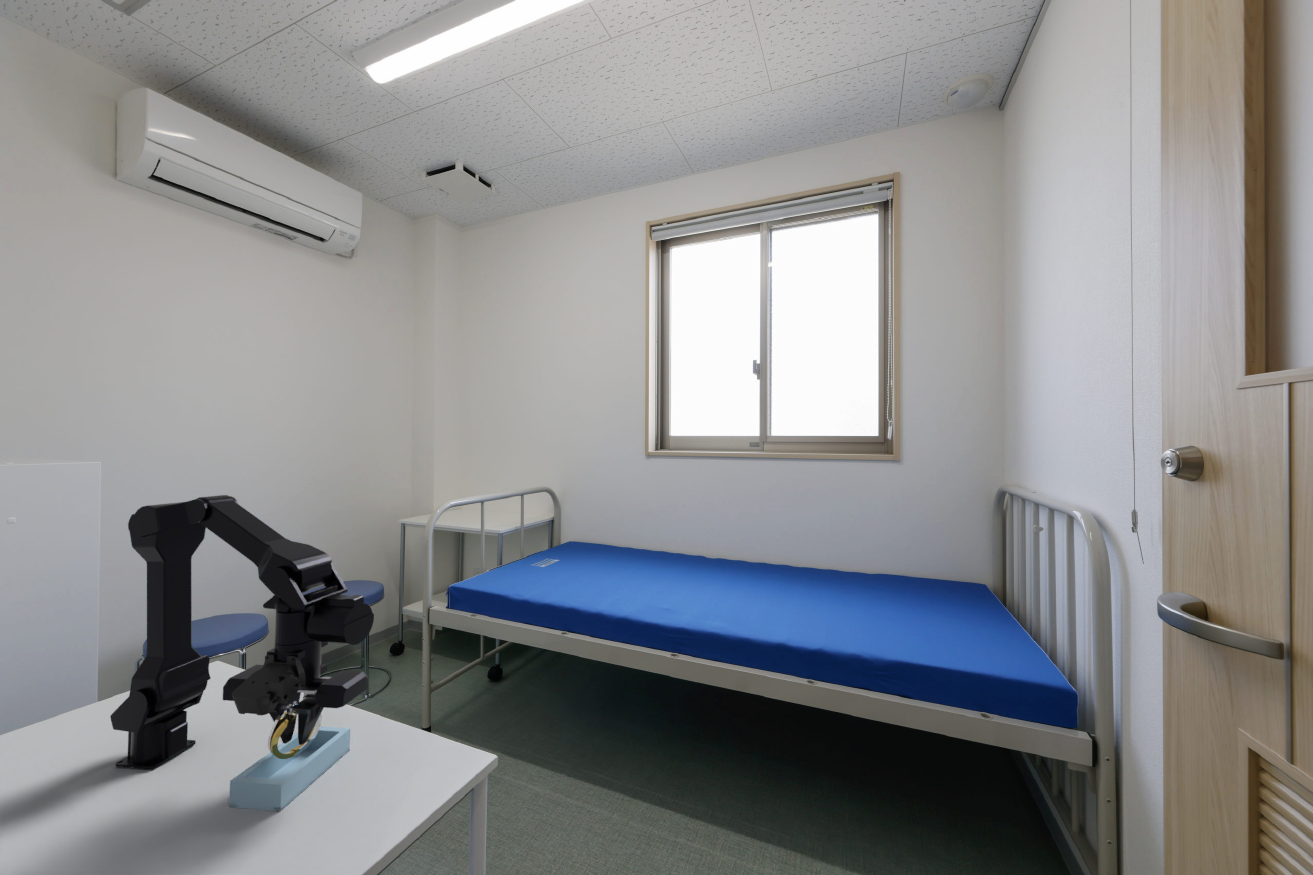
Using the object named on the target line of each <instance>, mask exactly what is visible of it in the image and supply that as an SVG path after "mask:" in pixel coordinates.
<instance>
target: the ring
mask: <svg viewBox="0 0 1313 875" xmlns="http://www.w3.org/2000/svg"><path fill="white" fill-rule="evenodd" d="M296 704H298V703H296V700H295V701H294V702H293V704H292V703H290V704H289V705H288V706H287V707H286V708H284V710H283V711H282V712H281V713H280V714H279V716H278V717H277V718H276V720H275V722H274V721H273V724H272V726H271V728H270V732H269V735H268V740H267V747H268V751H269V753H270V752H271V753H272V754H273V755H274V756H275V757H277V758H279V759H288V758H291V757H297V756H298V755H299V754H300V753H301V752H302V751H303V750H305V749H306V748H307V747H308V746H309V745H310V744H311V742H312V741H313V740H314V738H315V737H316V735H317V733H318V731H319V728H320V726H321V724H322V720H323V719H322V717H323V716H322V713H321V714H320V716H319V718H318V720H317V722H316V724H315V726H314V728H313V730H312V732H311V734H310V736H309V738H308V740H307V741H306V742H305V743H304V744H302V745H300V746H299V747H294V748H292V749H291V750H290V752H286V753H280V752H279V750H278V745H279V740H280V739H281V737H280V736H281V734H282V732H283V731H284V730H285V728H286V727H287V726H288V725H289V724H290V722H291V721H292V720H293V719H294V718H295V717H296V716H297V717H298V713H297V712H296V711H294V710H293V709H292V708H291V707H293V706H294V705H296ZM288 715H291V716H289V717H288V718H287V719H286V720H285V721H284V722H283V723H282V724H281V725H280V723H281V722H282V720H283V718H284V717H287V716H288ZM297 717H296V718H297ZM279 725H280V726H279Z"/></svg>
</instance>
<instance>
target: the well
mask: <svg viewBox="0 0 1313 875" xmlns="http://www.w3.org/2000/svg"><path fill="white" fill-rule="evenodd" d="M278 745H279V744H278ZM299 746H300V745H299V741H298V731H297V732H296V733H293V736H292V739H291V741H289V742H288V743H286V744H285V743H283V742H282V743H280V745H279V746H278V750H279V752H280V753H286V752H290V750H291V749H292V748H294V747H299ZM350 750H351V728H349V727H335V726H333V727H332V726H321V725H320V728H319V731H318V733H317V735H316V737H315V738H314V740H313V741H312V742H311V744H310V745H309V746H308V747H307V748H306V749H305V750H303V751H302V752H301V753H300V754H299V755H298V756H297V757H291V758H288V759H279V758H277V757H275V756H274V755H273V754H272V753H271V752H270V751H269V752H267V754H265V755H264V756H263V757H261V758H260V759H258V760H257V761H256V762H254V763H253V764H252V765H250V766H249V767H247V768H246V769H245V770H242V772H241V773H239V774H238V775H237V776H234V777H233V778H232V779H231V780H230V781H229V797H228V798H229V802H228V804H229V805H228V807H229V808H239V809H250V810H263V811H271V812H273V811H276V812H281V811H283V810H284V809H285V808H286V807H287V806H288V805H289V804H290V803H291V802H293V801H294V800H295V799H296V798H297V797H299V796H300V795H301V794H302V793H303V792H304V791H306V789H307V788H309V787H310V786H311V785H312V784H313V783H315V781H317V780H318V779H319V778H320V777H322V775H323V774H325V773H326V772H327V771H328V770H329V769H330V768H332V767H333V766H334V764H336V763H337V762H338V761H339V760H340V759H342V758H343V757H344V756H345V755H346V754H347V753H349V752H350Z"/></svg>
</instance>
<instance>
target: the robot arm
mask: <svg viewBox="0 0 1313 875" xmlns="http://www.w3.org/2000/svg"><path fill="white" fill-rule="evenodd" d="M127 527H128V528H127V529H128V532H129V536H130V544H131V547H132V549H133V550H135V552H136V553H137V554H138V555H139V556H140V557H141V558H142V560H144V561H145V562H146V656H145V658H144V659H143V661H142V662H141V663H140V665H139V666H138V668H137V670H136V671H135V672H134V674H133V675H132V677H131V681H130V682H131V683H130V689H129V695H128V697H127V698H126V699H125V700H124V701H123V702H122V703H121V704H120V705H119V706H118V707H117V708H116V709H115V710H114V711H113V712H112V713H111V714H110V717H109V718H110V720H111V726H112V729H113V730H115V731H121V732H128V733H127V734H128V738H127V756H125V757H124V758H122V759H120V760H118V761H116V762H115V767H117V768H125V769H126V768H127V769H137V770H138V769H139V770H155V769H157V768H158V767H159V766H161V765H162V764H165V763H167V762H168V761H170V760H172V759H173V758H174V757H176V756H178V755H179V754H181V753H183V752H185V751H187V750H188V749H189V748H191V747H193V746H194V745H196V739H195V740H194V739H188V729H189V728H188V727H189V722H188V721H187V719H188V718H187V716H188V715H187V714H188V712H187V709H189V708H191V707H193V706H196V705H198V704H200V703H201V700H202V696H203V694H204V692H205V690H206V688H207V686H208V681H209V680H211V676H210V670H209V668H210V661H211V660H210V657H209V655H201V654H200V652H198V651H197V649H195V648H194V647H193V644H192V642H193V641H192V640H193V637H192V636H193V635H192V632H193V631H192V630H193V629H192V624H193V623H192V622H193V621H192V620H193V619H192V617H193V616H192V608H193V607H192V606H193V605H192V604H193V603H192V602H193V601H192V558H193V555H194V554H195V552H197V549H198V548H199V547H200V545H202V543H203V541H204V540H205V536H206V530H209V531H210V532H212V533H213V534H214V535H216V536H217V537H218V538H220V540H222V541H224V542H225V543H226V544H228V545H229V546H230V547H232V548H233V549H235V551H237V552H238V553H239V554H241V555H243V556H244V557H245V558H246V559H248V560H249V561H250V562H252V563H253V564H254V565H255V566H256V567H257V575H258V579H259V581H261V583H262V584H263V585H264V586H265V587H266V588H267V589H268V590H269V591H270V593H271V594H273V595H272V597H270V598H269V599H268V600H266V601H265V602H264V603H263V605H262V607H263V608H264V609H267V610H269V609H270V610H275V622H274V625H275V626H274V647H273V648H272V649H269V650H267V651H266V655H265V656H264V663H263V664H255V665H252V666H251V667H249V668H247V669H245V670H243V671H241V672H239V673H237V674H235V675H233V676H231V677H229V678H228V679H227V681H226V682H225V683H224V685H223V688H222V701H230V702H234V705H235V707H236V710H237V712H238V714H240V715H245V714H250V715H251V714H253V715H257V716H266V715H268V714H269V716H270V717H271V719H272V721H273V723H274V722H275V720H276V718H277V717H278V716H279V714H280V713H281V712H282V711H283V710H284V708H286V707H287V706H288V705H289V704H290V703H292V704H293V702H294V701H295V700H296V703H298V704H296V705H294V706H293V707H291V708H292V709H293V710H294V711H296V712H297V713H298V715H297V716H296V717H295V718H294V719H293V720H292V721H291V722H290V724H289V725H288V726H287V727H286V728H285V730H284V731H283V732H282V734H281V736H280V739H281V741H282V743H285V744H286V743H288V742H289V741H291V739H292V736H293V735H294V732H295V728H296V722H297V732H298V741H299V745H302V744H304V743H305V742H306V741H307V740H308V738H309V736H310V734H311V732H312V730H313V728H314V726H315V724H316V722H317V720H318V718H319V716H320V714H321V715H322V712H323V710H324V708H328V709H339V708H343V707H344V706H345V707H346V705H347V704H349V703H350V702H352V701H353V700H354V699H356V697H358V696H359V695H362V693H364V692H365V691H366V690H367V689H368V686H369V685H368V683H369V682H368V680H369V679H368V678H369V677H368V674H367V673H365V671H359V670H358V671H357V670H347V669H346V670H341V671H339V672H338V673H335V675H333V676H323V677H322V676H321V675H323V674H324V673H326V672H327V671H328V663H327V664H326V663H322V648H324V647H326V646H328V645H329V644H330V643H331V644H340V645H349V646H357V645H359V644H361V642H363V641H364V640H365V639H366V638H367V637H368V636H369V634H370V632H371V630H372V627H373V626H374V620H375V614H374V613H373V609H372V607H371V606H370V605H369V604H368V603H365V597H364V595H362V594H361V595H360V594H355V595H349V594H346V593H348V588H347V585H346V584H345V582H344V580H343V578H341V576H340V574H339V573H338V571H337V570H336V567H335V565H333V563H332V562H333V560H332V558H331V556H330V555H329V554H328V553H327V552H325V551H324V550H321V549H319V548H317V547H314V546H313V545H310V544H307V543H302V542H299V541H294V540H290V539H288V538H286V537H284V536H283V535H282V534H281V533H279V532H277V531H276V530H275V529H273V528H272V527H271V526H269V525H268V524H266V523H265V522H264V521H262V520H261V519H260V518H258V517H257V516H255V515H254V514H252V513H251V512H250V511H248V510H247V509H245V508H244V507H243V506H241V505H240V504H239V502H238V500H237V499H236V497H234V496H232V495H231V496H230V495H227V494H223V495H222V494H219V495H210V496H199V497H197V498H195V499H192V500H188V501H182V502H181V501H179V502H170V503H161V504H160V503H159V504H152V505H151V504H149V505H144V506H141V507H139V508H137V510H136V512H134V513H133V514H131V516H130V517H129V520H128V523H127ZM323 586H324V587H323ZM322 587H323V588H322ZM317 588H320V589H317ZM315 589H317V590H315ZM312 590H314V591H312ZM308 591H311V592H308ZM305 592H306V593H305ZM307 592H308V593H307ZM303 593H305V594H303ZM301 693H303V696H302V699H301V695H302V694H301ZM300 699H301V701H300ZM289 716H291V715H288V716H287V717H284V718H283V720H282V722H281V723H280V725H281V724H282V723H283V722H284V721H285V720H286V719H287V718H288V717H289ZM280 725H279V726H280Z"/></svg>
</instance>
